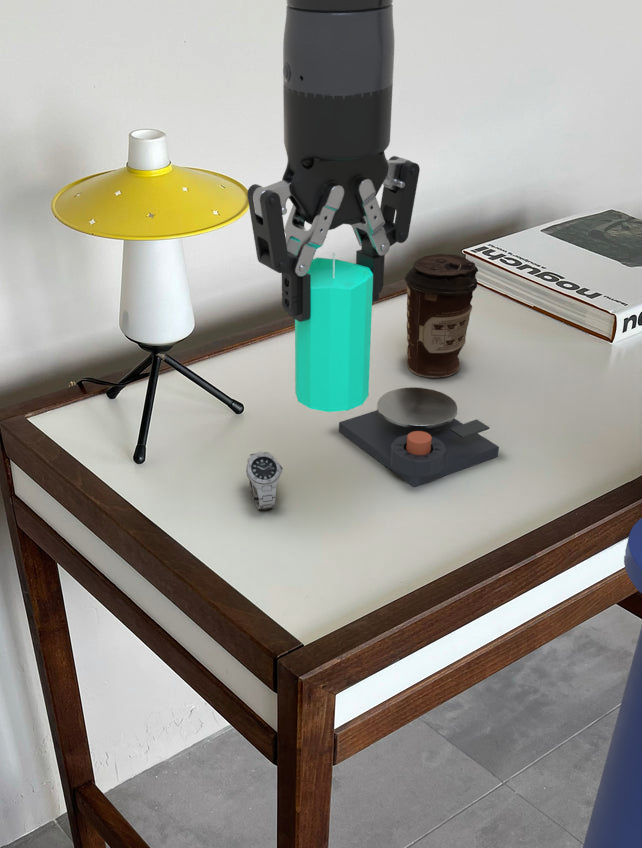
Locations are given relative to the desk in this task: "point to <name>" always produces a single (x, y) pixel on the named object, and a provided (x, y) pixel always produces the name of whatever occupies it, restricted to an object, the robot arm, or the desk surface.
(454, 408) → the scale pan
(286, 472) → the desk surface
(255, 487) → the wristwatch
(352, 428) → the scale
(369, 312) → the candle
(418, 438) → the tare button
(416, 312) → the coffee cup
